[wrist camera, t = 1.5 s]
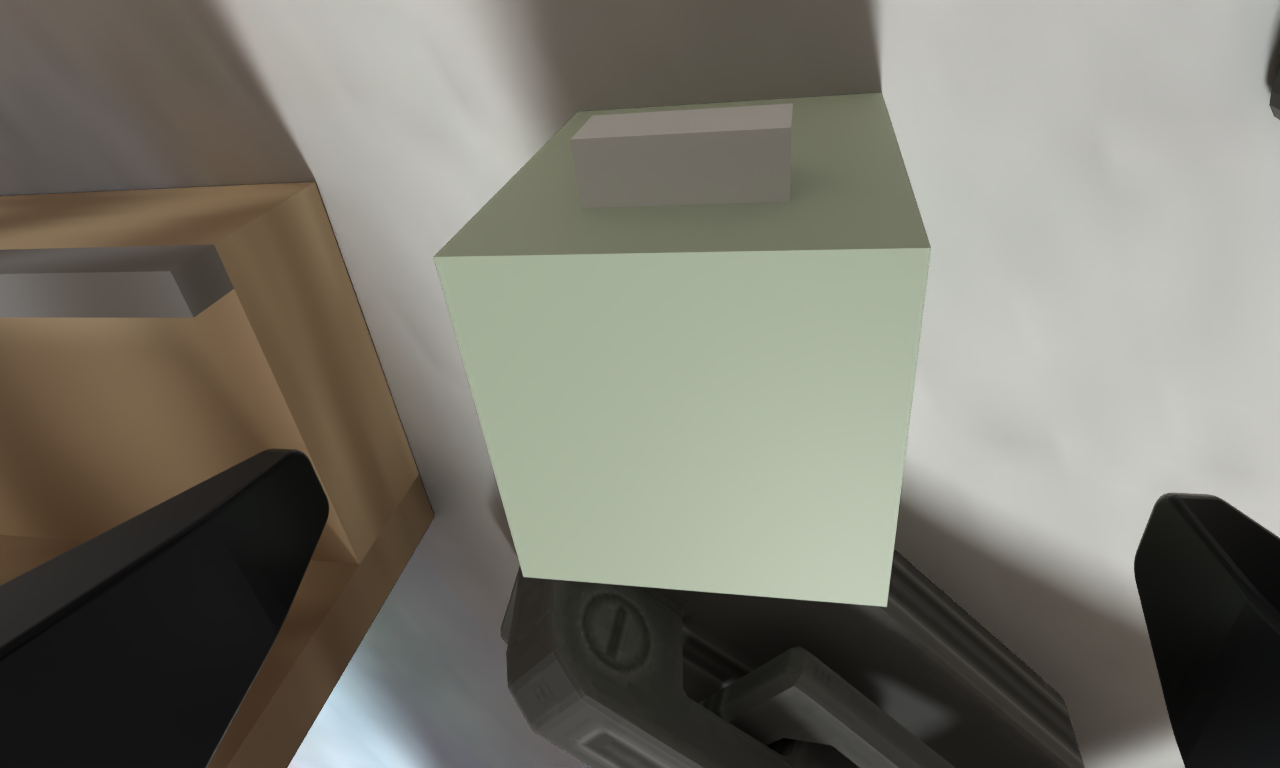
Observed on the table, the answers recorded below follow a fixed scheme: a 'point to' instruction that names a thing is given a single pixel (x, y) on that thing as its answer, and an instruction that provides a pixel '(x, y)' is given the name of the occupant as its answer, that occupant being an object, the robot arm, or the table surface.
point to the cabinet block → (700, 346)
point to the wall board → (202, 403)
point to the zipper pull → (775, 680)
